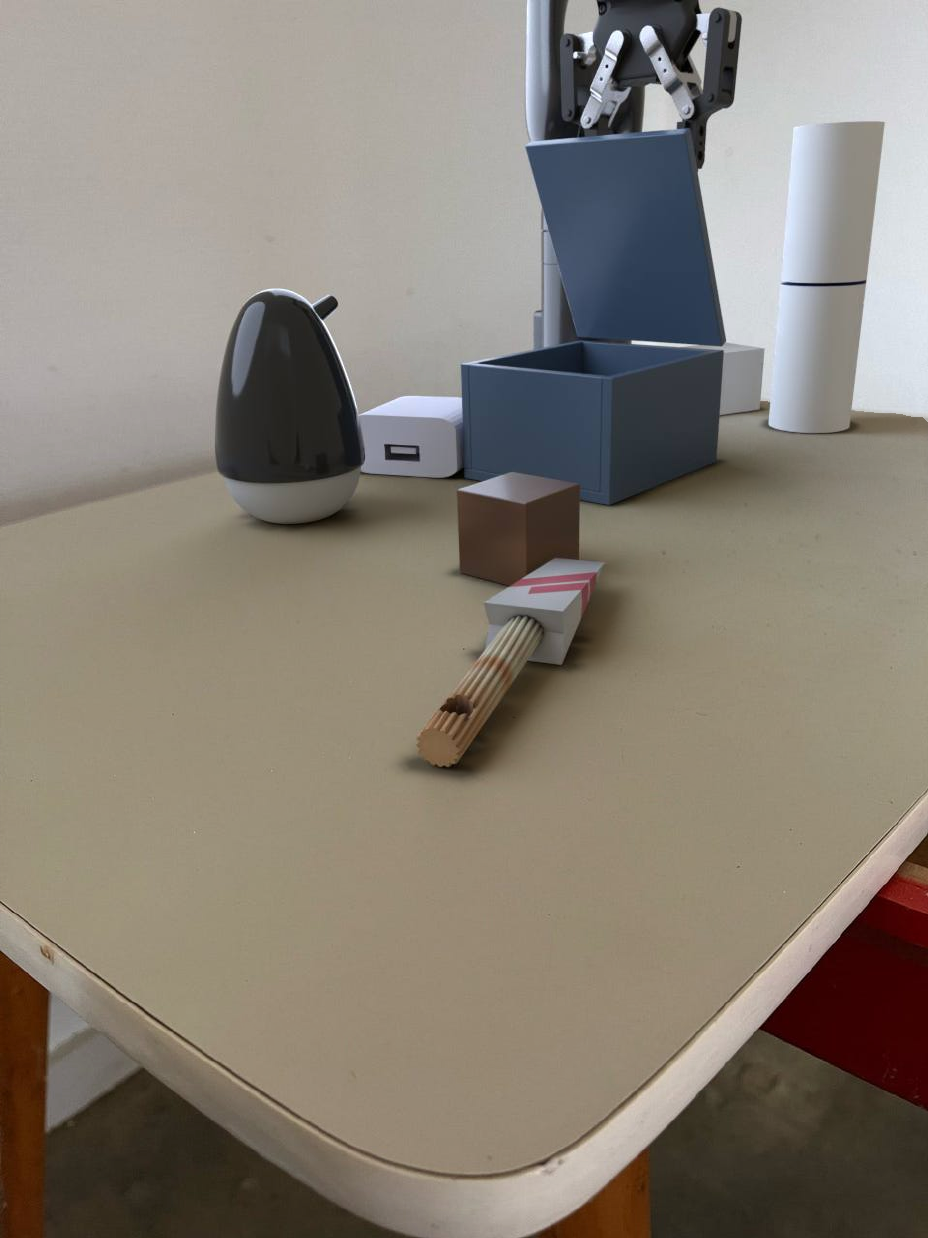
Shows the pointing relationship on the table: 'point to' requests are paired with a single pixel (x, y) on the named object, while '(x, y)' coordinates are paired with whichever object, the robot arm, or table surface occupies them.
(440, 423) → the charger
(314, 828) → the table surface
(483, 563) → the block
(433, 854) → the table surface
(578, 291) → the lid
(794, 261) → the cylindrical container
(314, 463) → the pump dispenser
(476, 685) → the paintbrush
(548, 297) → the robot arm
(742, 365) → the white cube
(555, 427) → the blue storage bin
